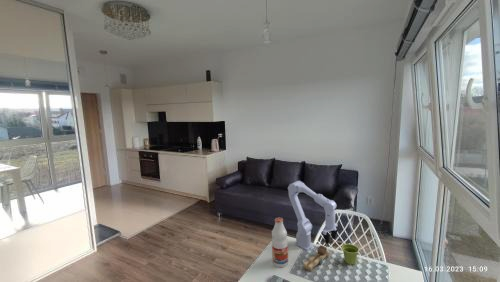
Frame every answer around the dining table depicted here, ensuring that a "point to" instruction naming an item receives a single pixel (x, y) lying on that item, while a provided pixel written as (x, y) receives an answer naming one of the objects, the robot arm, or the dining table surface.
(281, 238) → the fruit juice
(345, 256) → the plant pot
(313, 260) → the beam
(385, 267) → the dining table surface
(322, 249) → the rider
